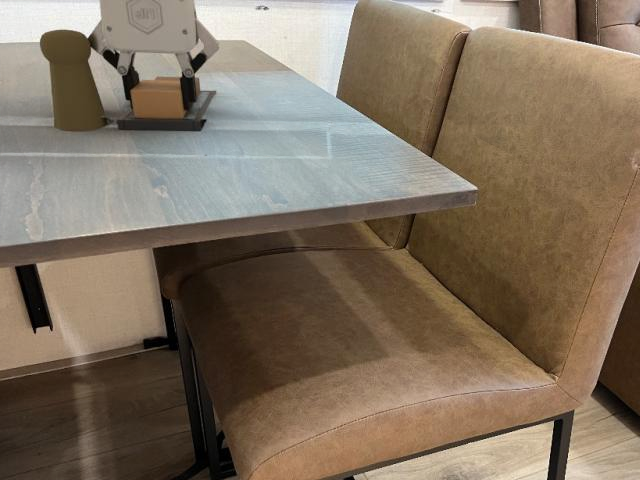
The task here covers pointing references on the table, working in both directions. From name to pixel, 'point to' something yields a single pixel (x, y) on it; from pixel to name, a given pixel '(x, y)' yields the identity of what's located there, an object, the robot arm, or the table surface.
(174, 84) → the loose pad
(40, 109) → the table surface
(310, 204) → the table surface
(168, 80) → the pad
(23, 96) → the table surface
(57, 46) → the olive pawn
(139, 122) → the frame
